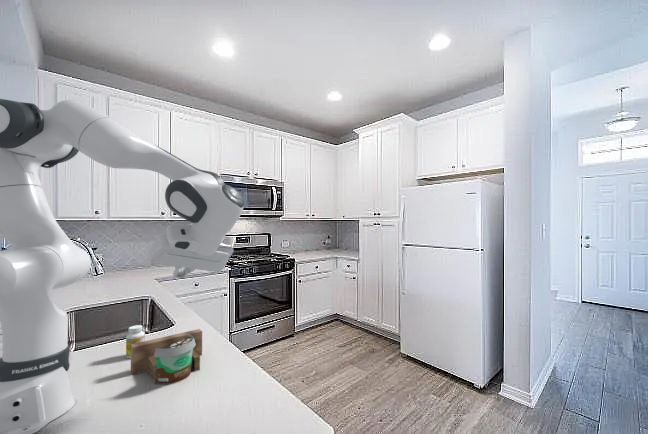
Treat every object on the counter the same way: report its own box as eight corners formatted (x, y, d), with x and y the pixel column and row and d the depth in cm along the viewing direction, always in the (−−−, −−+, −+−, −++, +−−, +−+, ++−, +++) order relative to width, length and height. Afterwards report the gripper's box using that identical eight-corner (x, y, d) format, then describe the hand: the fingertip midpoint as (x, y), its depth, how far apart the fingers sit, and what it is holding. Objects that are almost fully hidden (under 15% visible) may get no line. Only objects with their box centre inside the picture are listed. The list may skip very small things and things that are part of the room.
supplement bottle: (148, 352, 102) (148, 324, 103) (137, 359, 97) (137, 329, 97) (133, 351, 103) (133, 324, 103) (122, 358, 97) (122, 329, 98)
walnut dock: (138, 389, 79) (138, 358, 79) (130, 371, 89) (130, 344, 89) (213, 365, 92) (213, 339, 92) (199, 352, 102) (199, 328, 102)
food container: (170, 390, 78) (170, 352, 79) (153, 386, 80) (153, 349, 81) (204, 369, 90) (204, 336, 90) (189, 366, 92) (189, 333, 92)
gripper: (233, 239, 88) (210, 272, 92) (162, 223, 73) (137, 262, 77) (239, 254, 84) (215, 287, 88) (165, 240, 69) (139, 280, 73)
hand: (178, 275), depth 82 cm, fingers closed
